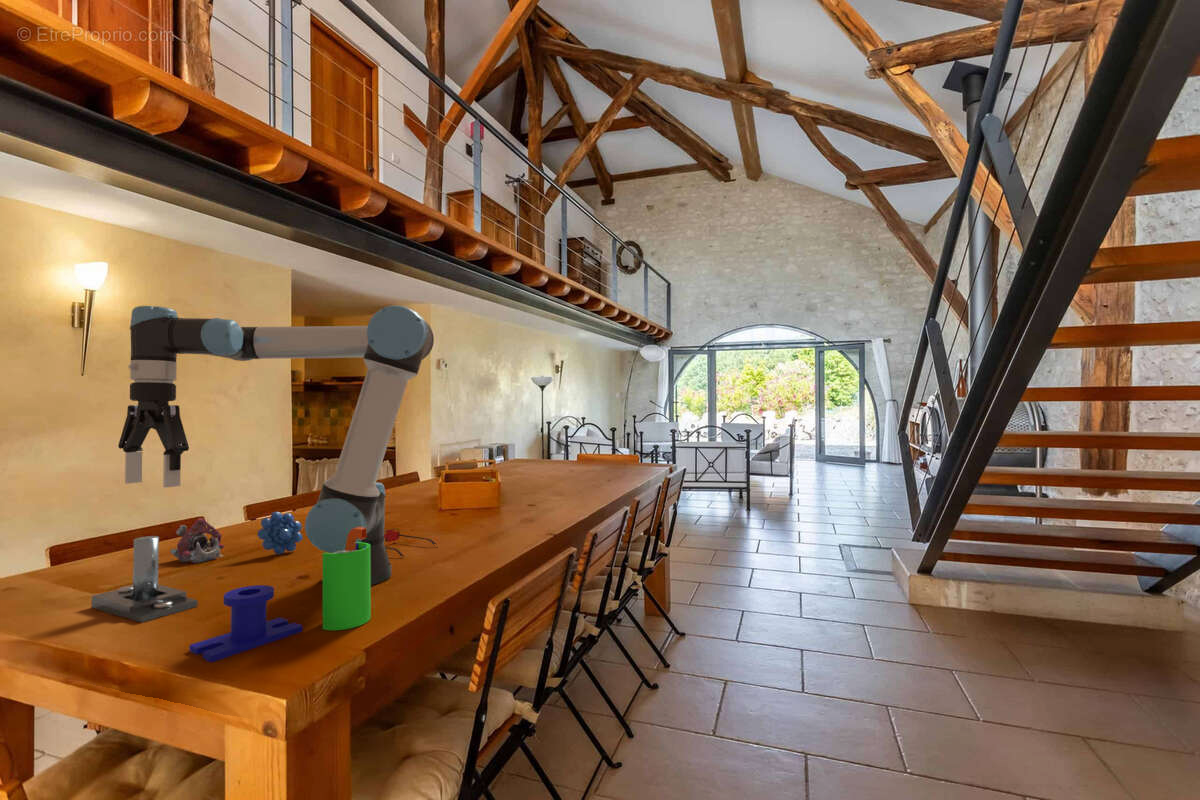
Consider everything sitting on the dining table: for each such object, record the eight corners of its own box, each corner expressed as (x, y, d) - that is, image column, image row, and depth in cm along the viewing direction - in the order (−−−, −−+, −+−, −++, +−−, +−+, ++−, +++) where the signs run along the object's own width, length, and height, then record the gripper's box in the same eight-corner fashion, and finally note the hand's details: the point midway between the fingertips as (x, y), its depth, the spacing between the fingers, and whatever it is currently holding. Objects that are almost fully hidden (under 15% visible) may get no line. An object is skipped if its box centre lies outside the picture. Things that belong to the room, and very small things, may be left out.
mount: (210, 663, 90) (212, 609, 90) (189, 652, 94) (190, 600, 94) (302, 632, 103) (303, 584, 103) (280, 623, 107) (280, 577, 107)
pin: (161, 605, 116) (163, 537, 116) (138, 611, 112) (140, 541, 112) (150, 602, 117) (152, 535, 118) (128, 608, 114) (129, 539, 114)
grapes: (263, 561, 149) (264, 516, 149) (253, 556, 153) (254, 512, 153) (308, 552, 158) (309, 510, 158) (298, 548, 162) (299, 507, 162)
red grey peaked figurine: (194, 558, 143) (176, 518, 145) (171, 580, 146) (154, 541, 148) (237, 548, 153) (220, 511, 156) (215, 569, 156) (198, 532, 159)
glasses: (397, 542, 172) (397, 526, 172) (439, 548, 165) (439, 531, 165) (360, 553, 159) (360, 535, 160) (404, 560, 152) (404, 542, 152)
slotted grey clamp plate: (197, 606, 115) (197, 591, 115) (140, 622, 106) (141, 606, 106) (148, 593, 123) (148, 579, 123) (91, 607, 114) (91, 592, 114)
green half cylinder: (335, 612, 112) (336, 522, 113) (376, 612, 113) (378, 522, 113) (316, 631, 103) (317, 532, 103) (361, 629, 104) (362, 532, 104)
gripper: (98, 382, 118) (97, 483, 118) (169, 380, 108) (167, 490, 107) (139, 383, 125) (138, 479, 125) (210, 381, 115) (208, 485, 114)
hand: (152, 484), depth 116 cm, fingers open, 13 cm apart
